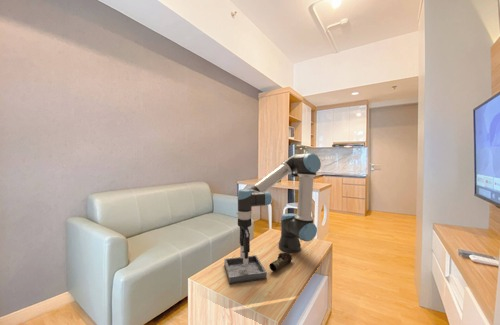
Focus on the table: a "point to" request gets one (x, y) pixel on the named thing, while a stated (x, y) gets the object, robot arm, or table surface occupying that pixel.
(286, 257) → the metal pipe
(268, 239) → the table surface
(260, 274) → the grey square tray
